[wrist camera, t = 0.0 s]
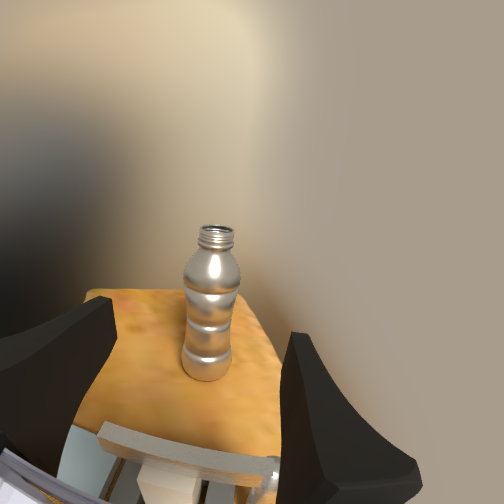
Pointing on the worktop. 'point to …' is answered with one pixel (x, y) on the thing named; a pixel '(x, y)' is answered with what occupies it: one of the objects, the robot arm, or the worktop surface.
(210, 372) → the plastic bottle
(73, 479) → the tile
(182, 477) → the plug
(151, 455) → the grey piece
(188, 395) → the worktop surface
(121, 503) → the socket block
